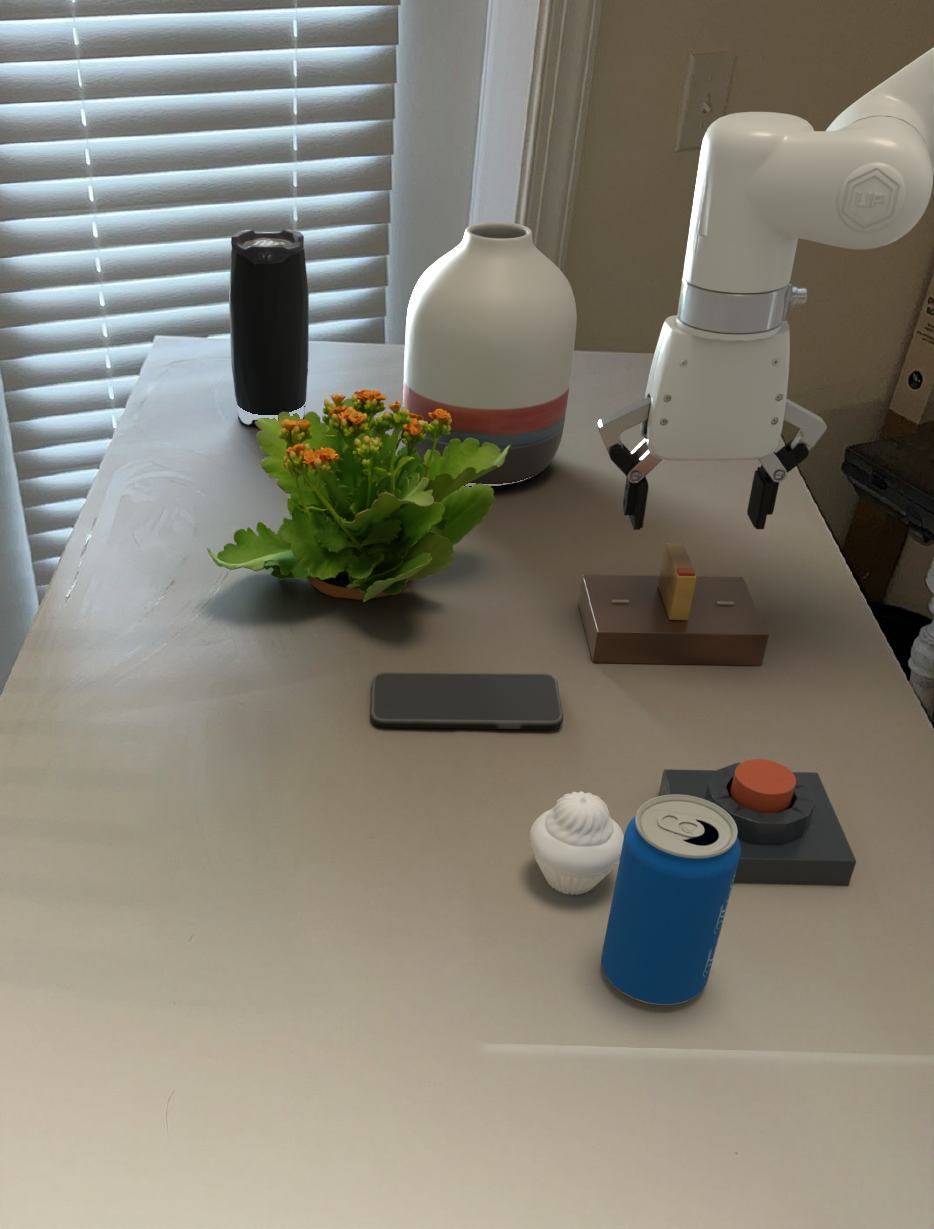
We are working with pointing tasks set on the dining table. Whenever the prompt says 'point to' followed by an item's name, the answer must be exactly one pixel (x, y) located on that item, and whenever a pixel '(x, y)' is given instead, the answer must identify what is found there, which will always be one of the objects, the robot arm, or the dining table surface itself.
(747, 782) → the button
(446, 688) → the smartphone
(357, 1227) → the dining table surface
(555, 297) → the vase
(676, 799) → the beverage can
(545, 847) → the muffin
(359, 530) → the potted flower
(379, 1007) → the dining table surface
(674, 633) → the plate
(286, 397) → the portable speaker
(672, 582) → the yellow red-marked block
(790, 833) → the button block
